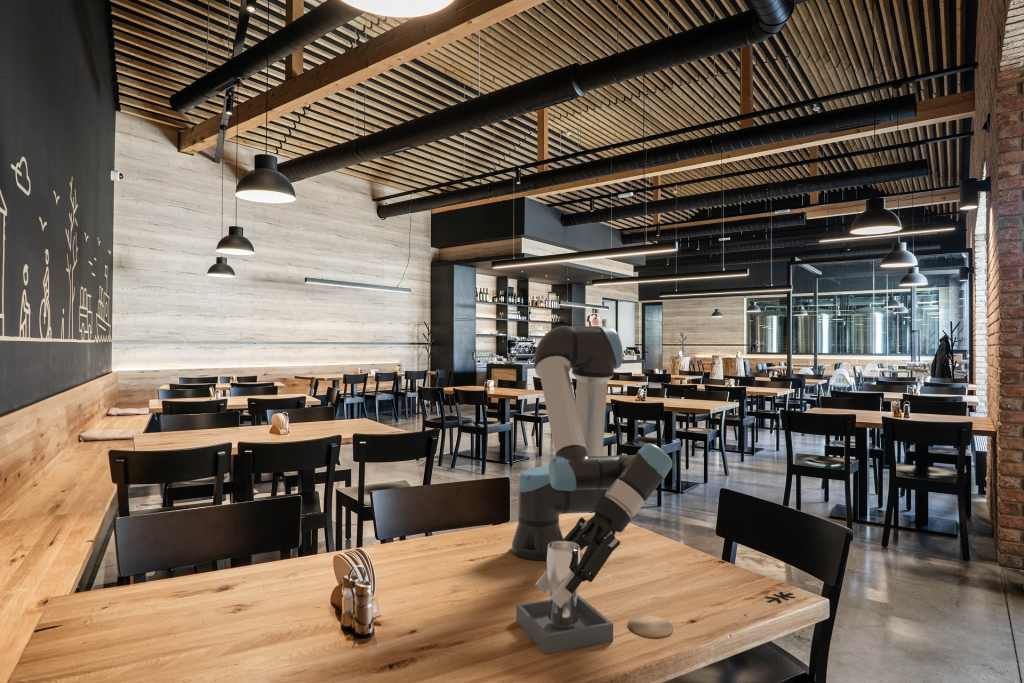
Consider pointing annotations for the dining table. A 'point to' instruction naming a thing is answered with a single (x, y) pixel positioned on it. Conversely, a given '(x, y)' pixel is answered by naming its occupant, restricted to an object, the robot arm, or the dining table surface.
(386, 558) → the dining table surface
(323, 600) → the dining table surface
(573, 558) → the beer glass
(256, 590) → the dining table surface
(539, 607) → the tray
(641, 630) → the coaster
